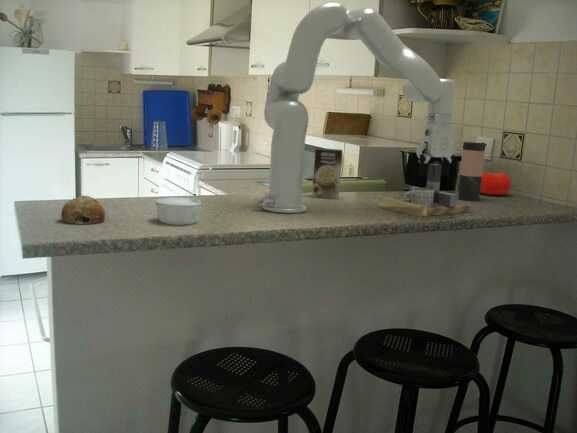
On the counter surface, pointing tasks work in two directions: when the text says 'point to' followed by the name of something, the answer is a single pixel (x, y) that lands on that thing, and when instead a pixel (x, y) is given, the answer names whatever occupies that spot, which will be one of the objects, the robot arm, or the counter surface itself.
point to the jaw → (434, 183)
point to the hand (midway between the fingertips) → (433, 175)
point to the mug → (421, 196)
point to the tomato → (495, 184)
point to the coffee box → (327, 173)
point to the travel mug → (471, 171)
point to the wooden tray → (420, 207)
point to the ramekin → (178, 210)
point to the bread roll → (83, 211)
